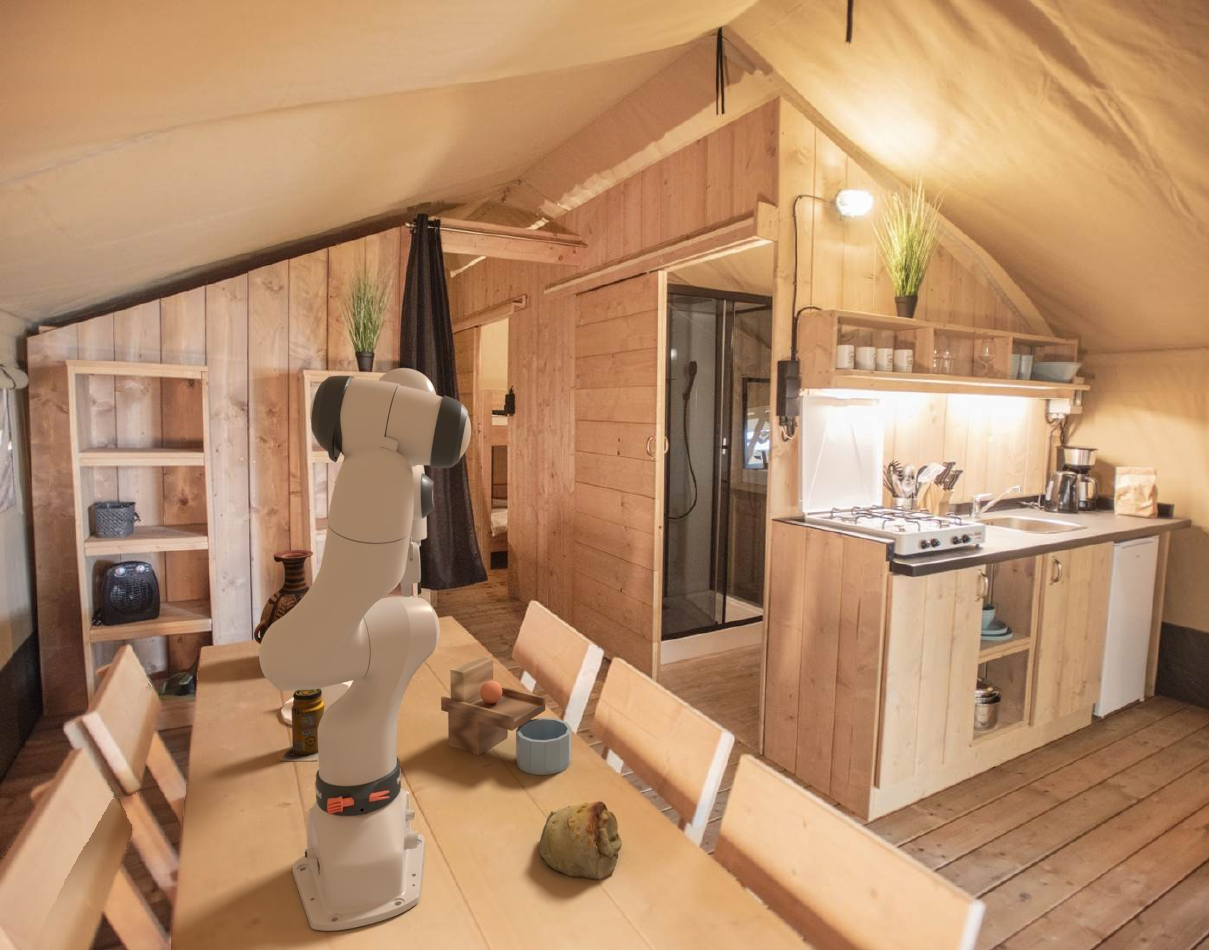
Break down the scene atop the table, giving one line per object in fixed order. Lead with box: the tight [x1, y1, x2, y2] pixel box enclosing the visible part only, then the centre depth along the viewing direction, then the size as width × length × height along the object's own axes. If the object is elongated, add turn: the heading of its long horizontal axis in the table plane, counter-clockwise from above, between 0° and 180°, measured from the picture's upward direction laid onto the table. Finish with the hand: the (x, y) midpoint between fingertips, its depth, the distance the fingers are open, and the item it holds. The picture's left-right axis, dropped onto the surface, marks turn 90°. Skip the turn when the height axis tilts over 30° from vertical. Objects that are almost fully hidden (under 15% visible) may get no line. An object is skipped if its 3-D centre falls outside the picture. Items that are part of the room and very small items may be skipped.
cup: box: [515, 717, 573, 776], centre depth 135 cm, size 10×10×6 cm
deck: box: [440, 685, 546, 756], centre depth 142 cm, size 18×11×10 cm, turn 59°
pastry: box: [538, 800, 623, 881], centre depth 107 cm, size 14×12×8 cm
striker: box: [449, 656, 494, 704], centre depth 144 cm, size 4×9×7 cm, turn 149°
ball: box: [480, 680, 503, 704], centre depth 141 cm, size 4×4×4 cm
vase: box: [253, 549, 314, 645], centre depth 189 cm, size 21×18×30 cm
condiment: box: [279, 688, 324, 762], centre depth 139 cm, size 7×8×12 cm
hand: (406, 595), depth 147 cm, fingers closed
